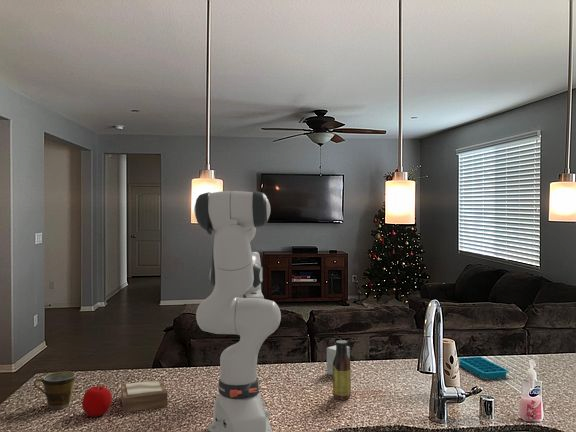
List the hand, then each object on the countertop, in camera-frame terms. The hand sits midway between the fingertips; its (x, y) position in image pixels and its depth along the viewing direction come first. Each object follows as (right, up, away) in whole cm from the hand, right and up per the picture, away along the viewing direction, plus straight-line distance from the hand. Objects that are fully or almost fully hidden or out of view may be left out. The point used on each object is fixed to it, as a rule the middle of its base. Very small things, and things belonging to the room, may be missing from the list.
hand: (249, 331), depth 189 cm
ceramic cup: (-63, -21, -19) cm, 70 cm away
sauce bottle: (+33, -21, -11) cm, 41 cm away
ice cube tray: (+94, -21, +18) cm, 98 cm away
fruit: (-47, -21, -26) cm, 58 cm away
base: (-35, -21, -16) cm, 43 cm away
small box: (+35, -20, +15) cm, 43 cm away
